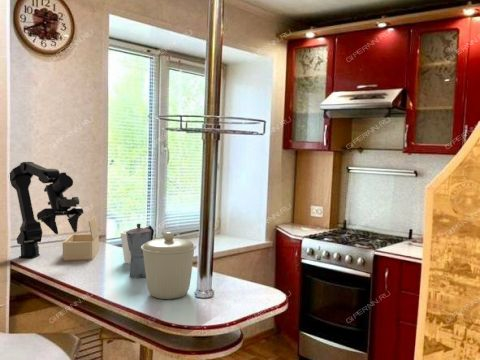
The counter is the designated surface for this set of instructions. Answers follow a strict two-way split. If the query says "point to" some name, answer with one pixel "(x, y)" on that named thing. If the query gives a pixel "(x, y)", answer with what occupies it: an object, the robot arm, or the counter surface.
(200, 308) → the counter surface
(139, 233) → the moka pot
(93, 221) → the carton flap
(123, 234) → the foam cup
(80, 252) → the carton
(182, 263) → the canister
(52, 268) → the counter surface
